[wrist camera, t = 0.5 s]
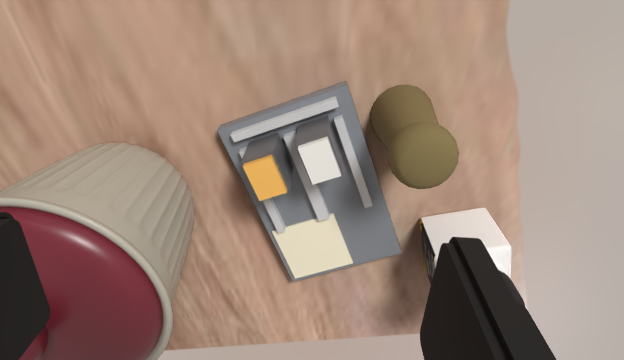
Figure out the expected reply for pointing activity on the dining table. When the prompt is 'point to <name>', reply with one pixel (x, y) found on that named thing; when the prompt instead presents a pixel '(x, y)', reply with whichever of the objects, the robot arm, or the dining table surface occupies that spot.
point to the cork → (413, 137)
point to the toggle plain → (319, 150)
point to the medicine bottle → (468, 226)
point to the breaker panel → (319, 189)
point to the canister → (105, 250)
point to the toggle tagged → (268, 166)
